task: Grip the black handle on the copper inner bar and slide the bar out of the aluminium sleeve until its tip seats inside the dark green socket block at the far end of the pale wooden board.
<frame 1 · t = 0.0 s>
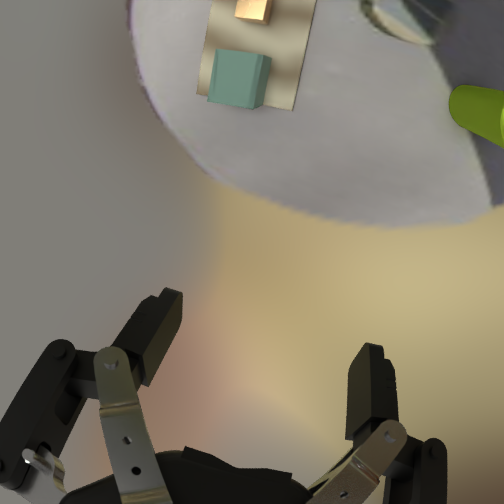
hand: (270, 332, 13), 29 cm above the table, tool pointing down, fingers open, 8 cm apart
socket block: (248, 77, 33), resting on base board
soap dispenser: (464, 106, 28), on the table
base board: (263, 4, 27), on the table
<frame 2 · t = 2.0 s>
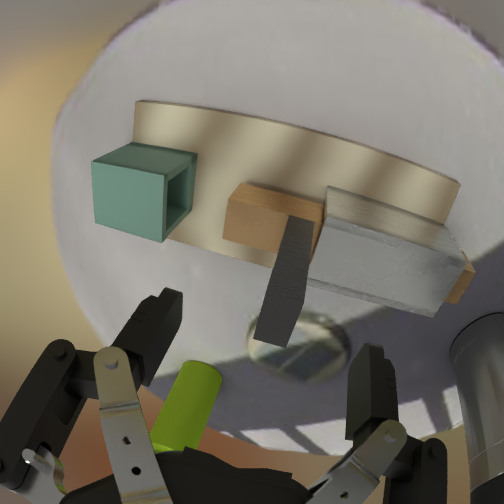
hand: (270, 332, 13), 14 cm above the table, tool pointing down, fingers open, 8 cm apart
socket block: (167, 171, 25), resting on base board
soap dispenser: (201, 370, 40), on the table
outer sleeve: (377, 226, 23), resting on base board
base board: (282, 199, 24), on the table
inner bar: (361, 277, 17), point 8 cm above the table, slide at 0.0 cm
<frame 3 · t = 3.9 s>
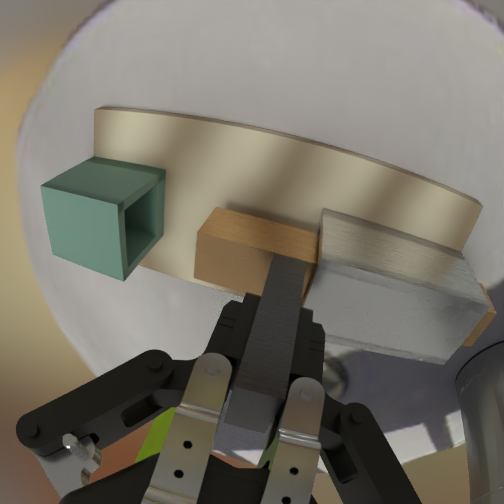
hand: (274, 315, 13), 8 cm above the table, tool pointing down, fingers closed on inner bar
socket block: (134, 189, 21), resting on base board
soap dispenser: (187, 395, 36), on the table
outer sleeve: (382, 254, 20), resting on base board
base board: (268, 222, 20), on the table
inner bar: (364, 332, 13), point 8 cm above the table, slide at 0.0 cm, touching gripper
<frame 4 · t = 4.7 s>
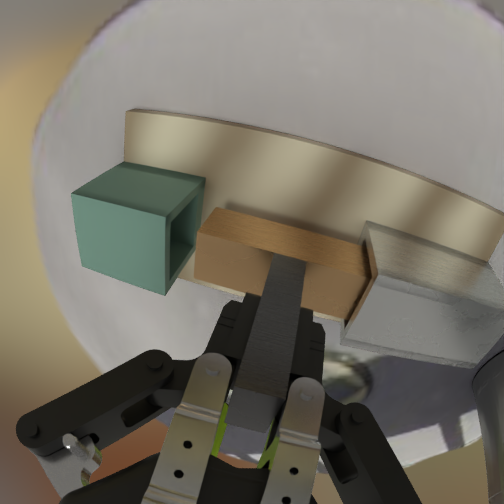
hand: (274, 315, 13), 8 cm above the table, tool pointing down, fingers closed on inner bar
socket block: (167, 197, 21), resting on base board
soap dispenser: (207, 401, 36), on the table
outer sleeve: (415, 264, 19), resting on base board
base board: (309, 233, 20), on the table
inner bar: (364, 332, 13), point 8 cm above the table, slide at 2.7 cm, touching gripper
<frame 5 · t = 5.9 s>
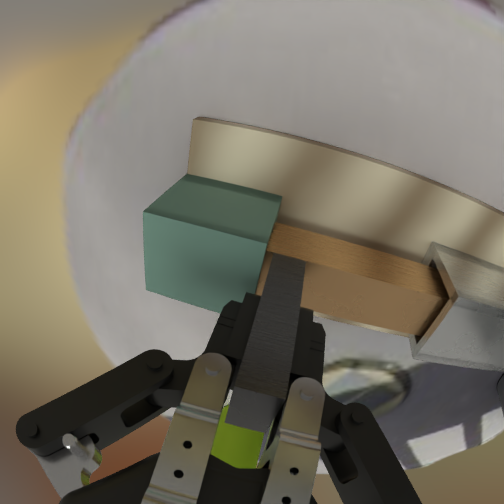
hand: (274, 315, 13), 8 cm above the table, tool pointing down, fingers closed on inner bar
socket block: (232, 213, 20), resting on base board
soap dispenser: (243, 412, 35), on the table
outer sleeve: (464, 279, 19), resting on base board
base board: (375, 252, 20), on the table
inner bar: (364, 332, 13), point 8 cm above the table, slide at 7.5 cm, touching gripper
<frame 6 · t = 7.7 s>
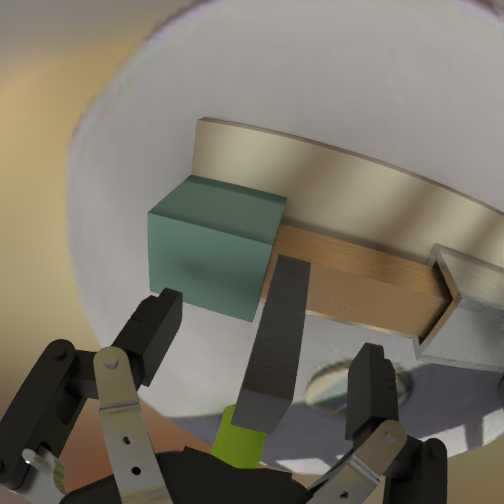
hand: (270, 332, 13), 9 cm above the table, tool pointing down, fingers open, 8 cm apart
socket block: (236, 214, 20), resting on base board
soap dispenser: (245, 413, 35), on the table
outer sleeve: (467, 281, 19), resting on base board
base board: (379, 253, 20), on the table
inner bar: (368, 333, 13), point 8 cm above the table, slide at 7.5 cm
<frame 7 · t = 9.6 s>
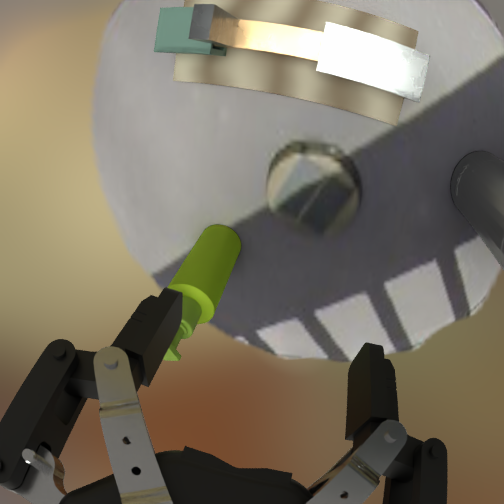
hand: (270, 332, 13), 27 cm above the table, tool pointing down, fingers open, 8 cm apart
socket block: (206, 35, 28), resting on base board
soap dispenser: (219, 239, 43), on the table
outer sleeve: (364, 63, 27), resting on base board
base board: (293, 45, 28), on the table
inner bar: (269, 34, 21), point 8 cm above the table, slide at 7.5 cm
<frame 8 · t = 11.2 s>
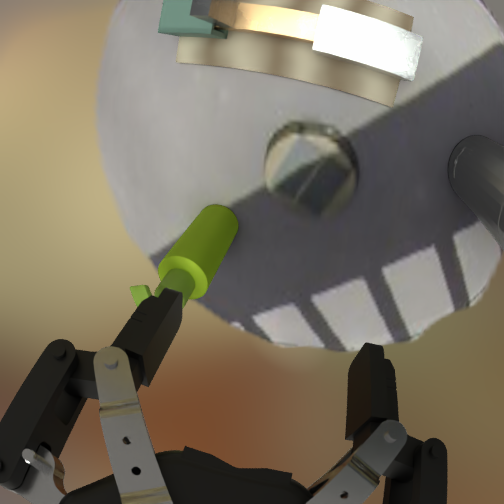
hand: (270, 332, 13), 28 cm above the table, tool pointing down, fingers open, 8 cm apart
socket block: (208, 20, 28), resting on base board
soap dispenser: (217, 219, 43), on the table
outer sleeve: (361, 47, 27), resting on base board
base board: (292, 29, 28), on the table
inner bar: (267, 15, 21), point 8 cm above the table, slide at 7.5 cm
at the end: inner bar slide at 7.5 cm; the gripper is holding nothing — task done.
